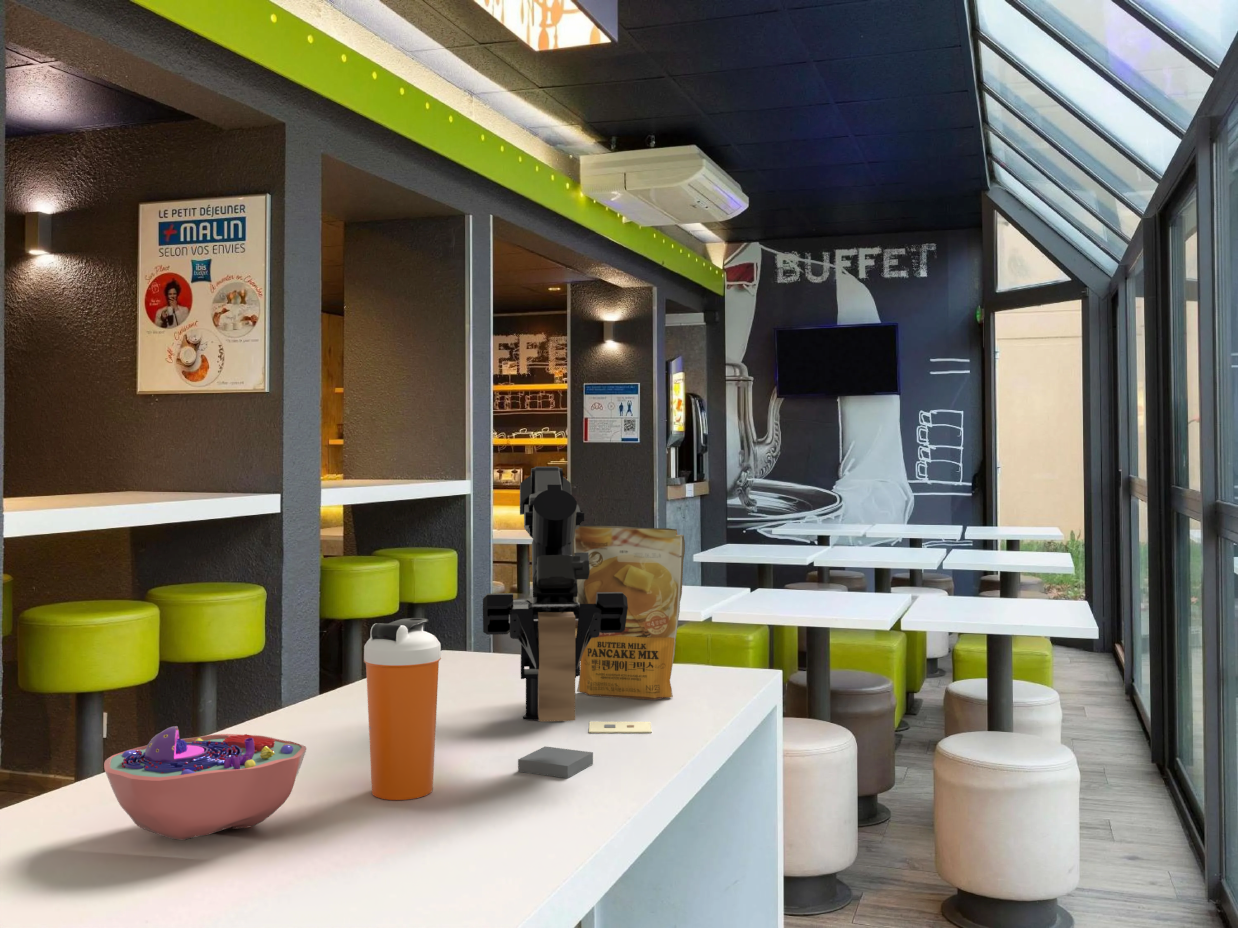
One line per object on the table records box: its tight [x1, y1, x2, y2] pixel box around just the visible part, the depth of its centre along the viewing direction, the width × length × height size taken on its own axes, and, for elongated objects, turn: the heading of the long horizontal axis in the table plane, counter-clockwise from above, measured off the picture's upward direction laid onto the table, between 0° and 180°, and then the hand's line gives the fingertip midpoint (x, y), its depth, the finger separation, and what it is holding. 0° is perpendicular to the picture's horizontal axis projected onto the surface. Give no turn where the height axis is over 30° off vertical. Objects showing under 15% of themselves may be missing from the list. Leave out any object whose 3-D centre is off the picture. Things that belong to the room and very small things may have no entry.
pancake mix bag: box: [573, 525, 686, 701], centre depth 184 cm, size 7×19×28 cm, turn 74°
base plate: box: [517, 746, 594, 779], centre depth 140 cm, size 7×7×2 cm
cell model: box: [103, 725, 307, 841], centre depth 116 cm, size 17×20×11 cm
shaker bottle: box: [363, 617, 442, 801], centre depth 130 cm, size 9×9×20 cm
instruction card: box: [588, 721, 652, 734], centre depth 161 cm, size 9×6×1 cm, turn 90°
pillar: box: [538, 612, 576, 722], centre depth 140 cm, size 4×4×13 cm
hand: (556, 667), depth 139 cm, fingers closed on pillar, 4 cm apart
